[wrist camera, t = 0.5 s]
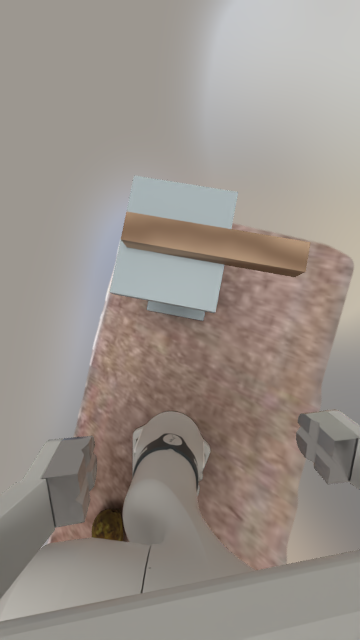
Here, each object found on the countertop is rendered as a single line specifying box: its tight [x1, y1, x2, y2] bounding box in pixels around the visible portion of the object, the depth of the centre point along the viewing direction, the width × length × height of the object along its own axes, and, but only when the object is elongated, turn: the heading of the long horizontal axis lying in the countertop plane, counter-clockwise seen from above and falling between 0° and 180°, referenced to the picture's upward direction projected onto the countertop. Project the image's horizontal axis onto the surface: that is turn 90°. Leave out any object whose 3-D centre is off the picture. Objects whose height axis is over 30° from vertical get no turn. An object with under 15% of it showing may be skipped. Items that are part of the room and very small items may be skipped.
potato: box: [92, 508, 123, 541], centre depth 48 cm, size 8×13×8 cm, turn 158°
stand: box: [110, 176, 238, 321], centre depth 41 cm, size 16×14×26 cm
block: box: [121, 212, 310, 277], centre depth 27 cm, size 4×22×2 cm, turn 79°
